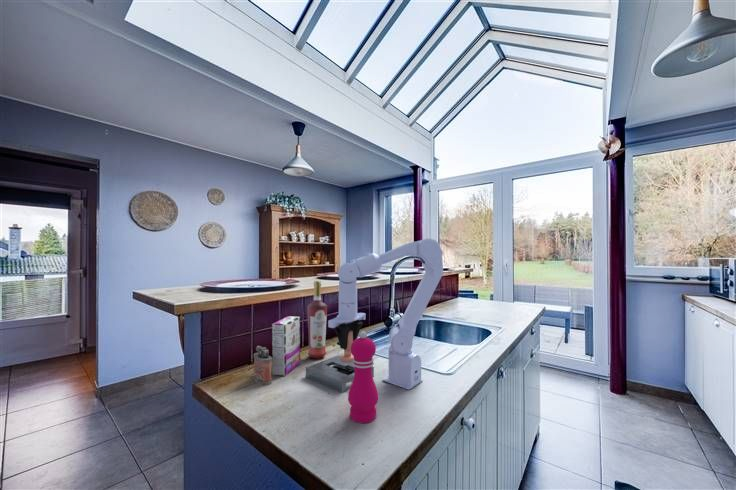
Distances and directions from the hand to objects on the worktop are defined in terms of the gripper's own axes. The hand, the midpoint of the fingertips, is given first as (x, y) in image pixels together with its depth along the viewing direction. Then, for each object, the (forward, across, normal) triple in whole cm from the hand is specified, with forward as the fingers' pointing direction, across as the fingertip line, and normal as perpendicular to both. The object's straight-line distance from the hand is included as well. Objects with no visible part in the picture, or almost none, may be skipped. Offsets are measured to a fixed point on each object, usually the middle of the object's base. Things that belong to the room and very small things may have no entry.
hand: (347, 347), depth 91 cm
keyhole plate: (+10, 0, -4) cm, 11 cm away
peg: (+4, 0, 0) cm, 4 cm away
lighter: (+10, +17, -20) cm, 28 cm away
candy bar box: (+10, +7, -22) cm, 25 cm away
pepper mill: (+10, +12, +16) cm, 23 cm away
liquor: (+10, -7, -22) cm, 26 cm away
